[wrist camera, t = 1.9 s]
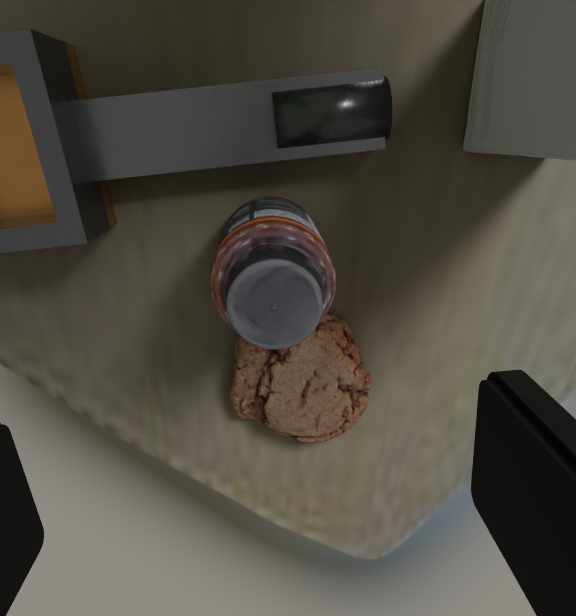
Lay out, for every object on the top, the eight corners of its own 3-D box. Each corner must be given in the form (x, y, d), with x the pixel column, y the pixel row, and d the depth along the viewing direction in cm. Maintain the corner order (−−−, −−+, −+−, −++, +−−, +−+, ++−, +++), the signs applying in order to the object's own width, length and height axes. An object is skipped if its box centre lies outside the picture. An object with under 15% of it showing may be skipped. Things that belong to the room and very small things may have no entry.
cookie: (317, 451, 36) (321, 479, 33) (199, 382, 33) (193, 406, 31) (402, 357, 33) (415, 379, 31) (282, 273, 31) (284, 289, 28)
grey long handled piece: (375, 12, 25) (400, -12, 20) (380, 194, 29) (402, 208, 24) (-106, 65, 25) (-190, 52, 20) (-40, 241, 29) (-100, 264, 24)
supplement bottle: (291, 301, 31) (305, 393, 21) (208, 263, 30) (176, 341, 19) (334, 220, 29) (373, 276, 19) (247, 176, 28) (236, 209, 17)
